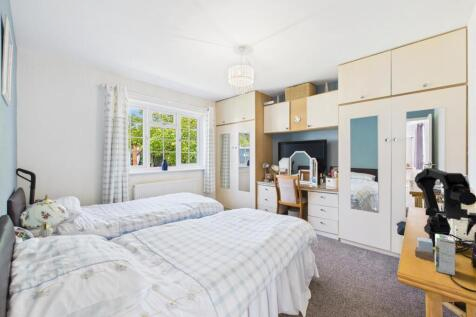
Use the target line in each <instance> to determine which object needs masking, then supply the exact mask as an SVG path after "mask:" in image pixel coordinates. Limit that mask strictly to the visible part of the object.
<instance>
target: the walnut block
mask: <svg viewBox="0 0 476 317" xmlns="http://www.w3.org/2000/svg"><path fill="white" fill-rule="evenodd" d="M415 256H416V258H418V257H419V258H420V259H422V258H423V260H426V261H429V262H434V263H435V248H433V253H428V252H423V251H418V245H417V246H416V248H415V250H414V257H415ZM419 258H418V259H419Z"/></svg>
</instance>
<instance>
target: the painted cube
mask: <svg viewBox="0 0 476 317" xmlns="http://www.w3.org/2000/svg"><path fill="white" fill-rule="evenodd" d="M416 240H417V246H418V251H423V252H428V253H433V249H434V248H433V247H434V246H433V242H432V240H431V239H429V237H428V238H427V237H423V236H422V237H421V236H417V239H416Z"/></svg>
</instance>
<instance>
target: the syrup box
mask: <svg viewBox="0 0 476 317" xmlns="http://www.w3.org/2000/svg"><path fill="white" fill-rule="evenodd" d="M434 249H435V262H434V267H435V271H436V272H439V273H441V274H447V275H451V276H456V240H455V238H454V237H453V236H450V235H449V236H447V235H441V234H435V246H434Z"/></svg>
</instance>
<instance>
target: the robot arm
mask: <svg viewBox="0 0 476 317" xmlns="http://www.w3.org/2000/svg"><path fill="white" fill-rule="evenodd" d="M438 180H439V183H441V184H442V186H441V189H443V210H440V206H439V204H438V200H437V198H436V194H435V190H434V187H435V186H436V182H437V181H438ZM414 182H415V184H416V187H417V189H418V188H419V189H420V190H421V191H422V195H423V198H424V202H425V206H426V208H425V213H424V214H425V216H428V218H427V219H426V224H425V225H424V226H423V231H424V233H426V234H428V239H431V240H432V242H433V247H435V234H441V235H447V236H450V233H451V229H452V228H451V224H450V223H449V221H448V220H449V219H450V220H451V219H452V220H456V221H461V220H462V218H463V219H467V223H466V232H465V233H466V236H469V235H470V232H471V231H472V228H473V227H474V226H475V225H476V212H469V213H468V209H465V208H462V205H465V206H472V205H474V204H476V194H475V193H473V192H471V186H470V184H469V182H468V180H467V179H466V177H465V175H464V174H463V173H461V172H447V171H443V170H440V169H438V168H435V167H431V168H430V167H429V168H427V167H425V168H424V169H423V170H422V171H420V172H418V173H417V174H416V175H415V176H414Z"/></svg>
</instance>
